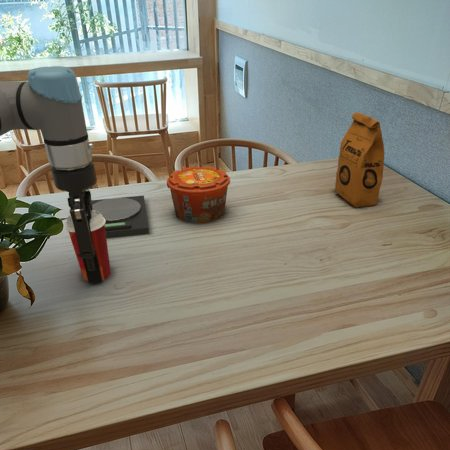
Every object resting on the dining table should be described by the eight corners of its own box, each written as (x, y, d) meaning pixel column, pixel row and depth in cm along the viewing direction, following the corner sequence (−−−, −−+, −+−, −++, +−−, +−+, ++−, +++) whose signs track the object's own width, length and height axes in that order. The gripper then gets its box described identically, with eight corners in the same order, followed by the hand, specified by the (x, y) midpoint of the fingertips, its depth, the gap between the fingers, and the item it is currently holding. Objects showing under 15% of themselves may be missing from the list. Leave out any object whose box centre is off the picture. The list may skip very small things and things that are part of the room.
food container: (241, 219, 116) (241, 179, 110) (185, 234, 110) (182, 193, 103) (212, 198, 127) (211, 161, 121) (160, 210, 121) (156, 172, 115)
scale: (82, 244, 107) (79, 231, 105) (86, 209, 123) (83, 197, 121) (149, 236, 109) (147, 224, 107) (144, 203, 125) (143, 192, 123)
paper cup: (103, 264, 99) (91, 205, 91) (123, 277, 95) (112, 216, 86) (71, 278, 95) (55, 217, 87) (90, 292, 90) (75, 230, 82)
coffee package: (349, 210, 119) (362, 124, 106) (329, 192, 129) (339, 112, 116) (383, 206, 121) (400, 121, 108) (361, 189, 131) (374, 109, 118)
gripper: (91, 181, 73) (114, 296, 87) (95, 145, 89) (114, 247, 102) (43, 186, 72) (74, 301, 86) (56, 148, 88) (80, 251, 101)
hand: (96, 271), depth 94 cm, fingers closed on paper cup, 7 cm apart
